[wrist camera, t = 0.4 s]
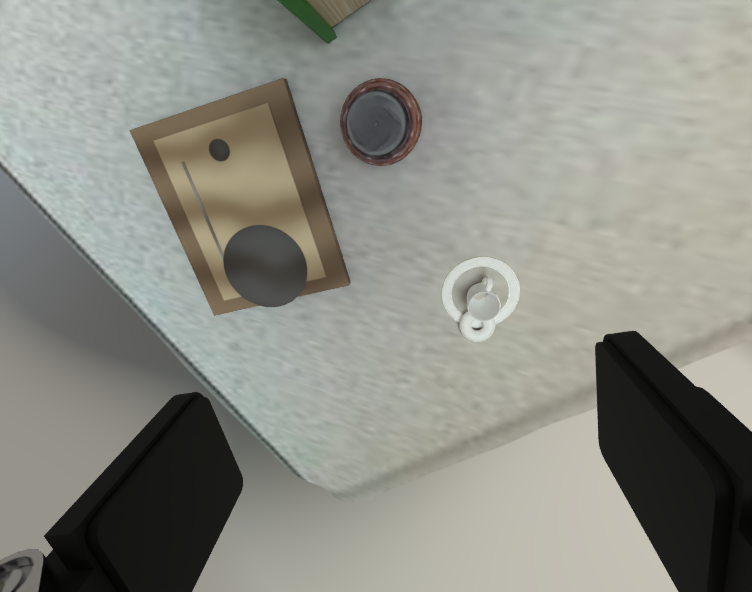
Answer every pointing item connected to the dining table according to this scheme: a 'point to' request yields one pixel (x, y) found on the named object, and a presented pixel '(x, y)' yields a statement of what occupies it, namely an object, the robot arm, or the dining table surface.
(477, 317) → the teacup and saucer
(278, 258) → the brown flat wooden board
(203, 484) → the robot arm
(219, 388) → the dining table surface
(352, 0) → the hardback book
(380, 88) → the supplement bottle
